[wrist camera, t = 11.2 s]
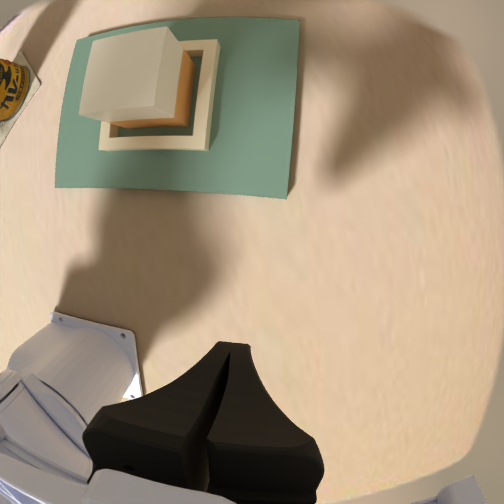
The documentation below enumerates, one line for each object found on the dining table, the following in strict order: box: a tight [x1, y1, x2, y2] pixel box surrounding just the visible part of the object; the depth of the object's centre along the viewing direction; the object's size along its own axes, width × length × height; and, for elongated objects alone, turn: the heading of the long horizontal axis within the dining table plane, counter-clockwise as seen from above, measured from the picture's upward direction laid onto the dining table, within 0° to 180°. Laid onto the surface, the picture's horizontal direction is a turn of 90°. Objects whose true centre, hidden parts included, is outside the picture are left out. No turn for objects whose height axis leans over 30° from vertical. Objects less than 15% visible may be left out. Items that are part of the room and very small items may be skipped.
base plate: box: [55, 17, 300, 199], centre depth 17 cm, size 18×13×2 cm
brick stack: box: [79, 26, 196, 129], centre depth 14 cm, size 4×4×6 cm
